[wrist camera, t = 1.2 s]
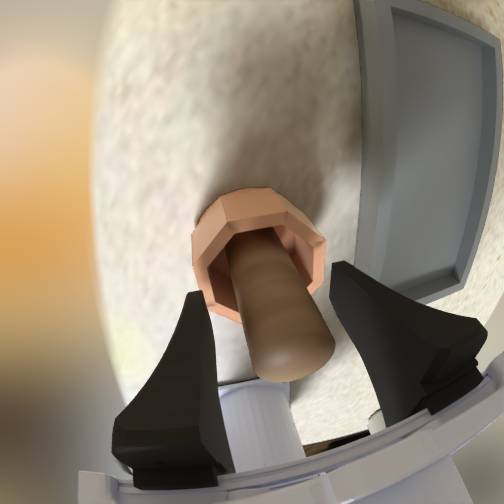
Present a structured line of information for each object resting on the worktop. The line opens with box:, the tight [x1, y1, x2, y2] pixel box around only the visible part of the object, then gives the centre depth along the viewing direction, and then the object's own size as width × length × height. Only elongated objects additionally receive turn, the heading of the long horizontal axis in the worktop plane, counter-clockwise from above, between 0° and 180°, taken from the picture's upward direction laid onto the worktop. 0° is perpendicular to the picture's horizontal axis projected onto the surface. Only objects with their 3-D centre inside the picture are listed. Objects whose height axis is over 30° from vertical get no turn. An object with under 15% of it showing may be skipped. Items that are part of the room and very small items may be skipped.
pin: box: [224, 227, 335, 383], centre depth 13 cm, size 3×3×8 cm
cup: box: [191, 188, 326, 324], centre depth 15 cm, size 6×6×4 cm
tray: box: [353, 0, 503, 305], centre depth 16 cm, size 22×12×2 cm, turn 6°
